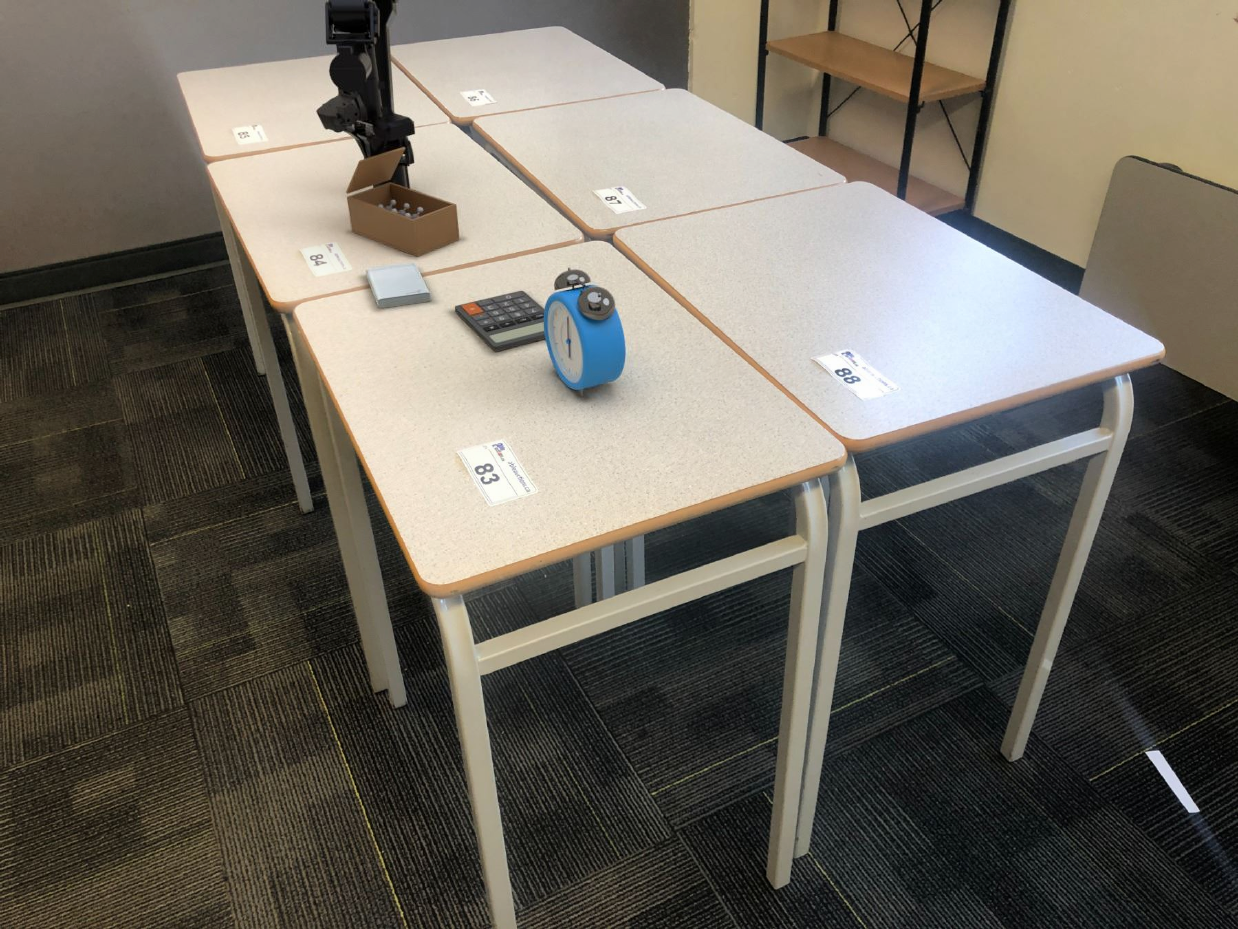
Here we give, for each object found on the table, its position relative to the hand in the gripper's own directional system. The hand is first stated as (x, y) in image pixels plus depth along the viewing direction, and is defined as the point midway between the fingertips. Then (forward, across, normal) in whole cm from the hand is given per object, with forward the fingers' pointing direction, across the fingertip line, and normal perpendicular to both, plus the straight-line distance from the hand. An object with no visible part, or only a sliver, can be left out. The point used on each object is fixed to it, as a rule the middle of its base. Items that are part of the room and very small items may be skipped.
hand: (373, 169), depth 168 cm
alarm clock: (+11, +65, -18) cm, 68 cm away
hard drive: (+11, +23, -15) cm, 29 cm away
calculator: (+11, +45, -12) cm, 47 cm away
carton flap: (0, +1, 0) cm, 1 cm away
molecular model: (+10, +7, 0) cm, 12 cm away
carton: (+11, +7, 0) cm, 12 cm away
